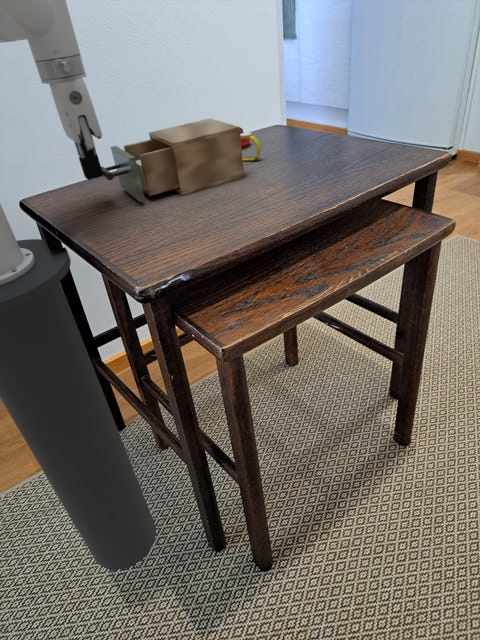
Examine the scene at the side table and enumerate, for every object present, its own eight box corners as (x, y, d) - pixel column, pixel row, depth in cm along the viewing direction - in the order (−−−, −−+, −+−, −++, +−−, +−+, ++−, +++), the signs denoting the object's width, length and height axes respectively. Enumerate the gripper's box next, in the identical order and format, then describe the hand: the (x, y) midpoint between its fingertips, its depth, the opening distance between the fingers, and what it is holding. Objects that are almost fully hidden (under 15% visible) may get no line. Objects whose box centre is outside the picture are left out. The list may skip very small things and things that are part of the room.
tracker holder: (256, 142, 113) (217, 139, 110) (252, 159, 116) (215, 156, 113) (244, 121, 121) (208, 118, 118) (241, 137, 124) (205, 134, 121)
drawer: (118, 207, 85) (106, 164, 81) (101, 192, 94) (89, 151, 89) (201, 184, 92) (194, 142, 87) (178, 171, 101) (171, 132, 96)
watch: (262, 158, 105) (260, 132, 101) (258, 162, 103) (255, 135, 99) (239, 158, 107) (237, 131, 104) (234, 161, 105) (231, 135, 102)
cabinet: (182, 195, 90) (172, 143, 84) (158, 180, 100) (148, 132, 94) (244, 177, 95) (239, 126, 90) (216, 164, 105) (210, 118, 99)
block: (145, 187, 90) (140, 165, 88) (138, 182, 93) (133, 161, 91) (165, 182, 92) (161, 160, 89) (158, 177, 95) (153, 156, 92)
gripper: (94, 68, 72) (124, 181, 82) (73, 64, 83) (102, 164, 93) (47, 77, 69) (84, 192, 80) (31, 71, 80) (66, 173, 91)
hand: (94, 176), depth 87 cm, fingers closed
